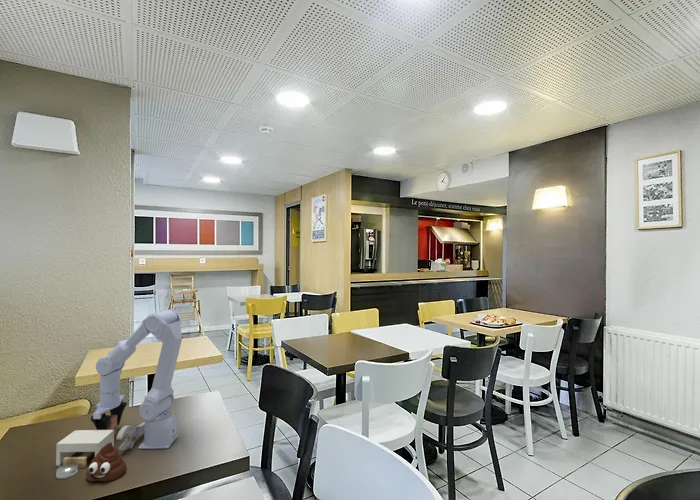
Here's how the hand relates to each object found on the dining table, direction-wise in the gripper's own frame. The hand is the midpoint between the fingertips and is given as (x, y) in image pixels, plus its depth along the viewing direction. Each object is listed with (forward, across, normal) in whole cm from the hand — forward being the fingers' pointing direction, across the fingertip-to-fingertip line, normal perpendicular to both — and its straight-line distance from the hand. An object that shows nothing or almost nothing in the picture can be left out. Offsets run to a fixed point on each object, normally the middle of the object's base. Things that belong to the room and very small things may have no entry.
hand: (109, 430), depth 124 cm
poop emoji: (+3, +21, +11) cm, 24 cm away
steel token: (+3, +20, 0) cm, 20 cm away
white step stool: (+2, +12, 0) cm, 12 cm away
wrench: (+3, -2, +11) cm, 12 cm away
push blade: (+2, +8, 0) cm, 8 cm away
